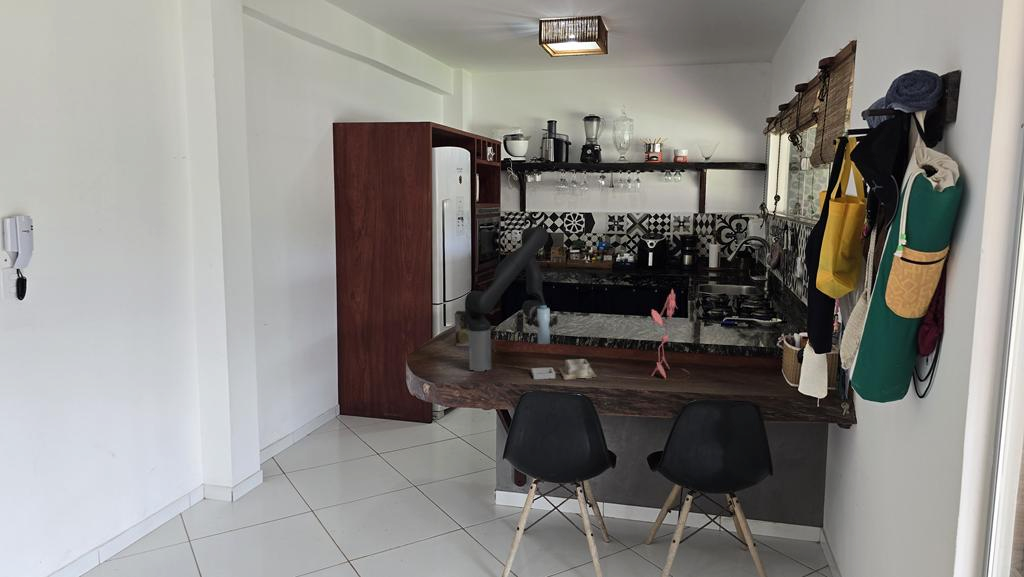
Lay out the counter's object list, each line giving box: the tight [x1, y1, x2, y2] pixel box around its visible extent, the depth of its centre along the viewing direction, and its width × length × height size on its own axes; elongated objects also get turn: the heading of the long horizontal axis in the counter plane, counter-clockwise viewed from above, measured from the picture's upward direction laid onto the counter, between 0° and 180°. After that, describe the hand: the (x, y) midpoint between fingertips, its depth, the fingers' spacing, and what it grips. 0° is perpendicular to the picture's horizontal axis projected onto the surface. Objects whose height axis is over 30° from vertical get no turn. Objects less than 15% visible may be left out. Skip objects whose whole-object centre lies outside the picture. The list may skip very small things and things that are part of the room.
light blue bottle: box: [536, 304, 551, 345], centre depth 286 cm, size 5×5×15 cm
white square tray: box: [531, 367, 556, 380], centre depth 289 cm, size 9×9×2 cm
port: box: [558, 358, 597, 380], centre depth 290 cm, size 13×13×5 cm
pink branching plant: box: [646, 288, 690, 381], centre depth 284 cm, size 15×26×35 cm, turn 157°
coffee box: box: [454, 310, 469, 347], centre depth 341 cm, size 9×6×16 cm
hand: (544, 324), depth 283 cm, fingers closed on light blue bottle, 5 cm apart
